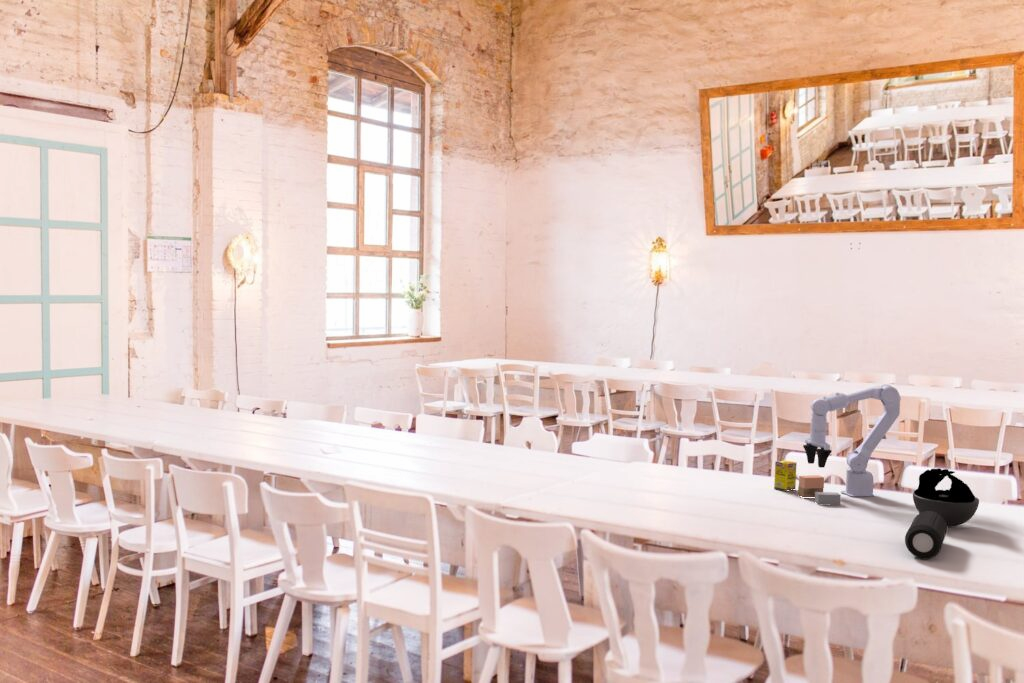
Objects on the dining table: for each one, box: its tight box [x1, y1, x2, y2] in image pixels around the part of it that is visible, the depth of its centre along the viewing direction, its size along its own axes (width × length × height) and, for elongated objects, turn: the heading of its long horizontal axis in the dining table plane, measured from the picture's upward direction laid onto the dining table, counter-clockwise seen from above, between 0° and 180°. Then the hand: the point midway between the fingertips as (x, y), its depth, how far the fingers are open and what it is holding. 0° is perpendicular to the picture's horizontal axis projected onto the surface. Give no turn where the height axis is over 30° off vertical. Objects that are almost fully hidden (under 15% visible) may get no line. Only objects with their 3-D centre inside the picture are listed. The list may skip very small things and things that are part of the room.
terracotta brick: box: [798, 474, 825, 489], centre depth 350 cm, size 8×4×4 cm, turn 103°
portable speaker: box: [904, 511, 948, 560], centre depth 280 cm, size 26×10×10 cm, turn 151°
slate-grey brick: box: [814, 491, 841, 506], centre depth 339 cm, size 8×4×4 cm, turn 88°
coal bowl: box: [912, 468, 980, 528], centre depth 309 cm, size 20×20×19 cm
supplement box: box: [773, 459, 797, 491], centre depth 362 cm, size 6×6×11 cm
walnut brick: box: [797, 485, 824, 497], centre depth 350 cm, size 8×4×4 cm, turn 102°
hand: (816, 465), depth 359 cm, fingers open, 7 cm apart
